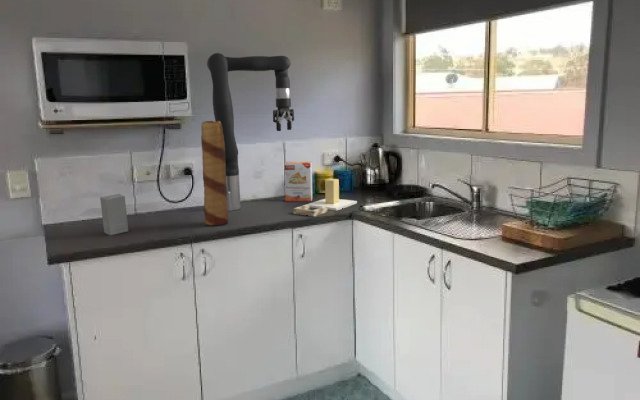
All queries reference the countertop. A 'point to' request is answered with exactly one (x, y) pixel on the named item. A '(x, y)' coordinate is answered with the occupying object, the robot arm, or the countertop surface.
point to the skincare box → (114, 214)
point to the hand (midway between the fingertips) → (284, 130)
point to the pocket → (306, 210)
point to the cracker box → (298, 181)
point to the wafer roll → (214, 173)
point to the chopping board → (335, 207)
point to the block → (332, 191)
